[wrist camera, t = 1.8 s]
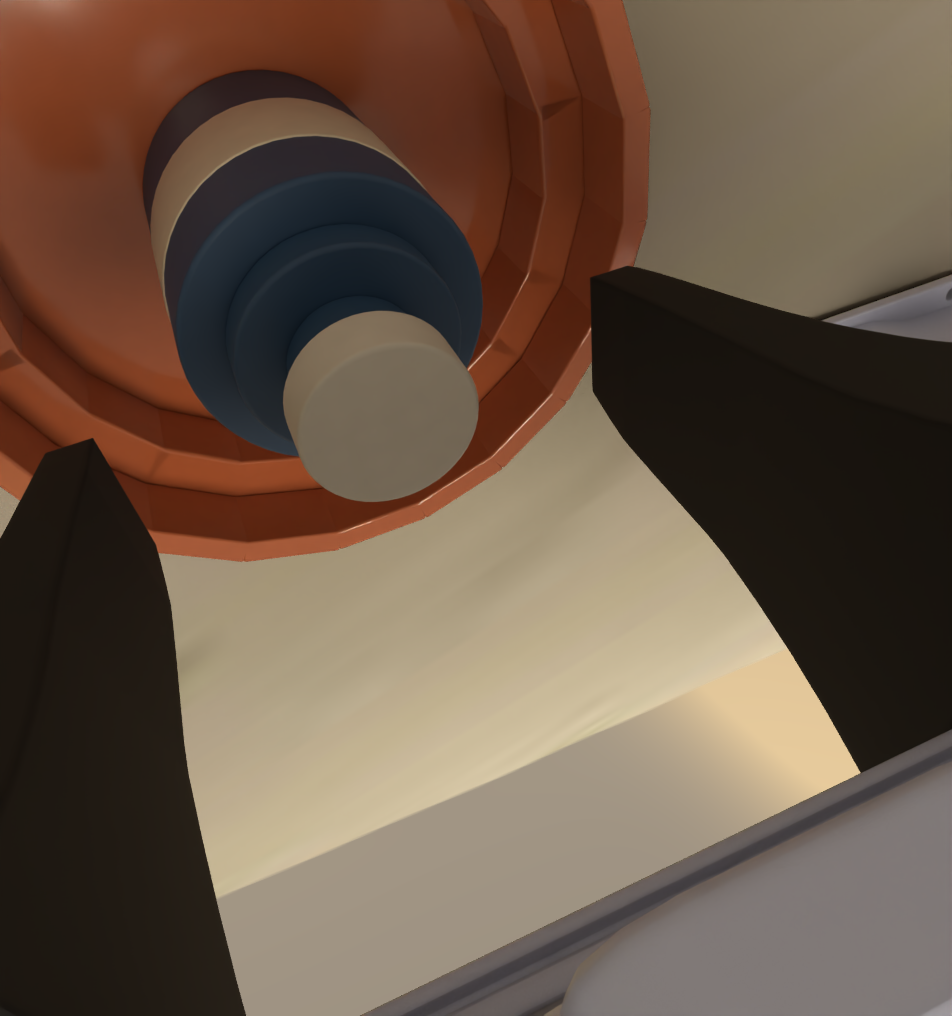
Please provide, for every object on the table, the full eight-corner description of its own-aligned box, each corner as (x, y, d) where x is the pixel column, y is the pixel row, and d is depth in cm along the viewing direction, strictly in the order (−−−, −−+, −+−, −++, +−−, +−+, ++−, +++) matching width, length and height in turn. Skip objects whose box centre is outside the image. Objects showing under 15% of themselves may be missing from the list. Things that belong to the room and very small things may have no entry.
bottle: (356, 39, 16) (549, 199, 10) (403, 274, 19) (566, 499, 13) (95, 103, 15) (128, 324, 9) (194, 337, 18) (268, 610, 12)
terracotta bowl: (542, -325, 14) (666, -352, 11) (572, 363, 24) (641, 440, 21) (-387, -175, 11) (-530, -161, 8) (83, 529, 21) (88, 642, 18)
